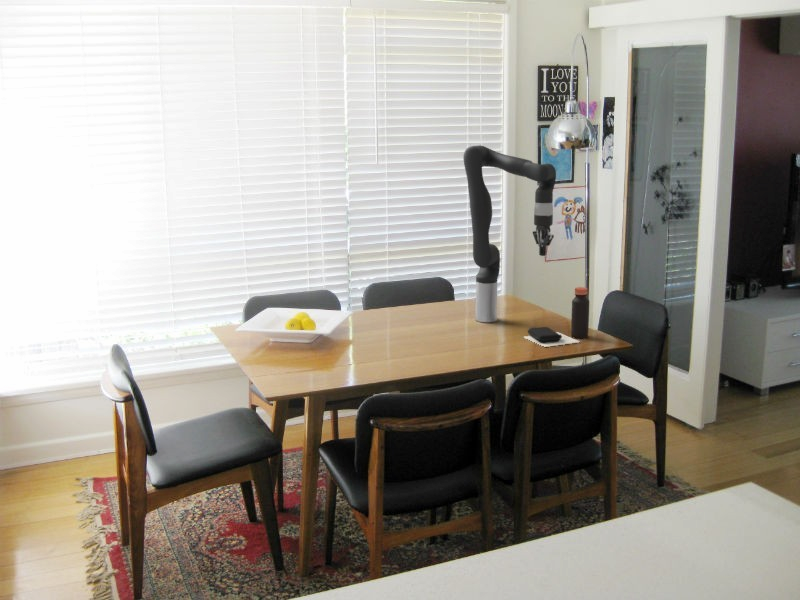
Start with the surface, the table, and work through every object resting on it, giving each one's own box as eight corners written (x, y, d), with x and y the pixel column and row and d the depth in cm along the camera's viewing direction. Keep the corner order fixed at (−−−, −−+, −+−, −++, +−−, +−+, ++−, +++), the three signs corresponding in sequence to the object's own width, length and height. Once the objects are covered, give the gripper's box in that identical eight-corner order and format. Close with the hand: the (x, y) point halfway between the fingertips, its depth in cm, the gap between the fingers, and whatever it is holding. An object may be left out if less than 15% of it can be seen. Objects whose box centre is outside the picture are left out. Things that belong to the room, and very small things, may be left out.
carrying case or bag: (551, 325, 344) (565, 334, 330) (550, 332, 345) (565, 342, 331) (526, 327, 342) (539, 336, 328) (526, 334, 343) (539, 344, 329)
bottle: (588, 339, 337) (590, 290, 332) (570, 338, 338) (572, 290, 333) (587, 334, 343) (589, 286, 338) (570, 334, 344) (572, 286, 340)
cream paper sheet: (523, 337, 340) (523, 336, 340) (557, 333, 346) (557, 331, 346) (545, 347, 326) (545, 346, 326) (580, 343, 332) (580, 341, 331)
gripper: (527, 212, 348) (526, 253, 352) (544, 216, 336) (543, 258, 340) (542, 211, 351) (541, 252, 354) (560, 214, 339) (559, 257, 343)
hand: (542, 255), depth 347 cm, fingers closed
